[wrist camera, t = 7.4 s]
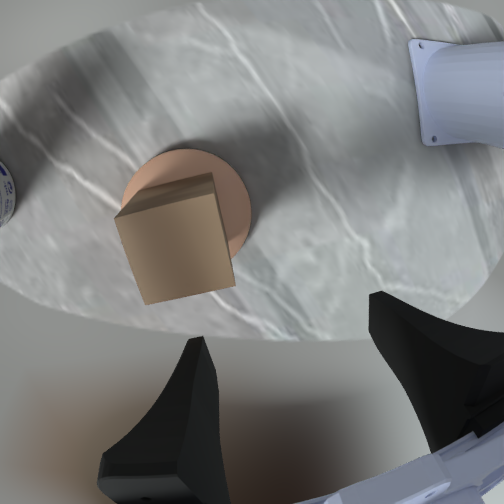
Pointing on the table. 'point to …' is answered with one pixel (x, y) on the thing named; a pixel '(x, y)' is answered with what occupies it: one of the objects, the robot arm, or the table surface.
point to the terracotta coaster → (193, 164)
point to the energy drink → (6, 195)
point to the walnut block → (176, 239)
